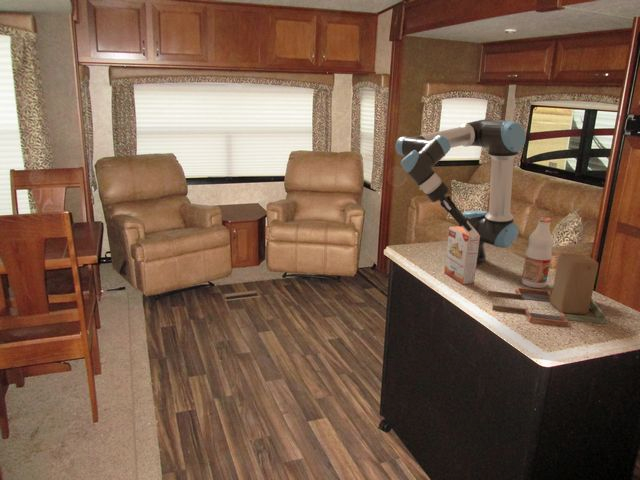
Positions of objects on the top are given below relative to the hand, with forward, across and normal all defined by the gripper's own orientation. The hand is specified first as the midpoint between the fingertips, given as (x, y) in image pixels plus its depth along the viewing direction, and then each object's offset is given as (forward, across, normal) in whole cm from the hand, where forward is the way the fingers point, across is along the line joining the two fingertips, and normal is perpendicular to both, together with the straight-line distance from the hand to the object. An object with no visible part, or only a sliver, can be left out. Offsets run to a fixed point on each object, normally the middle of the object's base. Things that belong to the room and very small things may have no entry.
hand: (475, 236), depth 182 cm
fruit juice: (+37, -22, +3) cm, 43 cm away
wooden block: (+43, +1, +8) cm, 43 cm away
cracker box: (+16, -20, -19) cm, 31 cm away
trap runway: (+35, +2, +1) cm, 36 cm away
